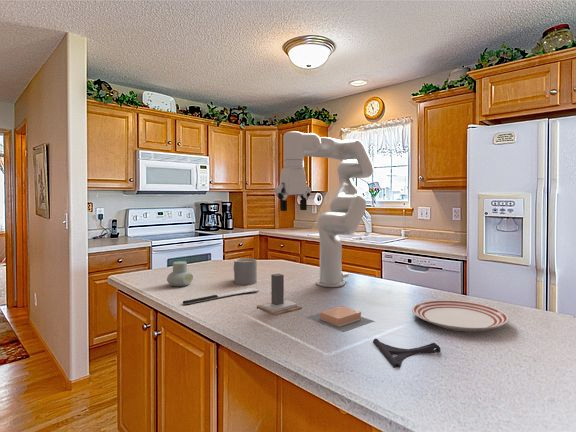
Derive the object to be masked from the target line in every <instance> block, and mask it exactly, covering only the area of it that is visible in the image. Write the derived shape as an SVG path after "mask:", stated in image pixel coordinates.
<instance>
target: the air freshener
mask: <svg viewBox="0 0 576 432" xmlns="http://www.w3.org/2000/svg"><path fill="white" fill-rule="evenodd" d="M193 279H194V275H193V274H192V273H191V272H190V271H189V270H188V263H187V261H184V260H183V261H182V260H181V261H173V262H172V272H170V273H169V274H168V276H167V277H166V281H167V283H168V284H169V285H171V286H173V287H186V285H187V286H188V285H190V284H191V283H192V281H193Z"/></svg>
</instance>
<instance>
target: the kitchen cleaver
mask: <svg viewBox="0 0 576 432" xmlns="http://www.w3.org/2000/svg"><path fill="white" fill-rule="evenodd" d="M258 291H260V290H259V288H252V287H249V288H244V289H237V290H233V291H227V292H222V293H218V294H212V295H208V296H202V297H198V298H192V299H188V300H187V299H186V300H182V305H183V306H189V305H196V304H199V303H203V302H208V301H213V300H218V299H220V298H224V297H229V296H235V295H239V294H245V293H246V294H247V293H253V292H258Z"/></svg>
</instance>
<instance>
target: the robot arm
mask: <svg viewBox="0 0 576 432" xmlns="http://www.w3.org/2000/svg"><path fill="white" fill-rule="evenodd" d="M366 148H367V147H365V145H364V143H363V142H362V140H359V139H356V138H355V139H354V138H353V139H342V140H341V139H337V138H332V137H327V136H321V137H320V136H319V135H318V134H316V133H313V132H310V133H309V132H308V133H306V132H305V133H304V132H300V131H286V132H285V133H284V135H283V168H281V171H280V177H279V185H278V186H276V187H275V188H274V193H275V195H276V197H277V199H278V200H279V203H280V204H279V209H280V211H281V212H287V210H288V201H287V200H286V199H287V198H288V196H299V198H300V200H299V210H300V211H307V209H308V208H307V207H308V204H307V203H308V199H309V197H310V196H311V193H312V190H313V189H312V188H311V187H310V186H309V185H307V176H306V170H305V166H306V163H305V162H304V159H305V157H312V158H325V159H331V160H332V159H333V160H339V161H341V162H339V163H338V165H337V169H336V170H337V176H338V183H339V185H338V188H337V191H336V192H335V194H334V196H333V198H332V200H331V202H330V205H329V210H330V211H325V212H322V213H321V214H320V215H319V216H318V218H317V223H316V224H317V229H318V234H319V235H318V236H319V278H318V279H316V280H315V284H316V285H317V286H320V287H324V288H325V287H326V288H339V287H344V285H346V281H345V280H344V278H348V277H349V276H350V275H349V273H348V272H342V268H343V267H342V263H343V262H342V260H343V258H342V255H343V254H342V253H343V251H342V249H343V246H342V244H343V243H342V240H341V238H340V237H339V235H342V236H352V235H353V234H355V233H356V231H357V230H358V227H359V225H360V223H361V221H362V219H363V218H364V215H365V212H366V207H367V202H366V199H365V197H364V196H363V195H361V194H360V193H359V194H358V188H357V185H355V182H354V181H353V179H366V178H370V177H371V176H372V175H373V174H374V164H373V161H372V158H371V156H370V154H369V152H368V150H367V149H366Z"/></svg>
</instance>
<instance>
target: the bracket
mask: <svg viewBox="0 0 576 432" xmlns="http://www.w3.org/2000/svg"><path fill="white" fill-rule="evenodd" d="M372 344H374V346H375V347H376V348H377V349H378V351H379V352H380V353H381V354H382V355H383V357H384V358H385V359H386V360H387V362H388V363H389V364H390V365H391V366H392V368H396V366H397V367H398V368H401V367H402V363H403V360H404V359H406V358H408V357H410V356H412V355H416V354H434V353H435V354H437V353H441V351H442V350H441V346H440V345H438V344H437V343H436V342H431V343H429V344H425V345H422V346H419V347H414V348H413V347H412V348H403V347H402V348H401V347H396V346H392V345H389V344H387V343H383V342H382V341H380V340H379V339H378V338H374V339H373V340H372ZM394 355H395V356H394Z"/></svg>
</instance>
